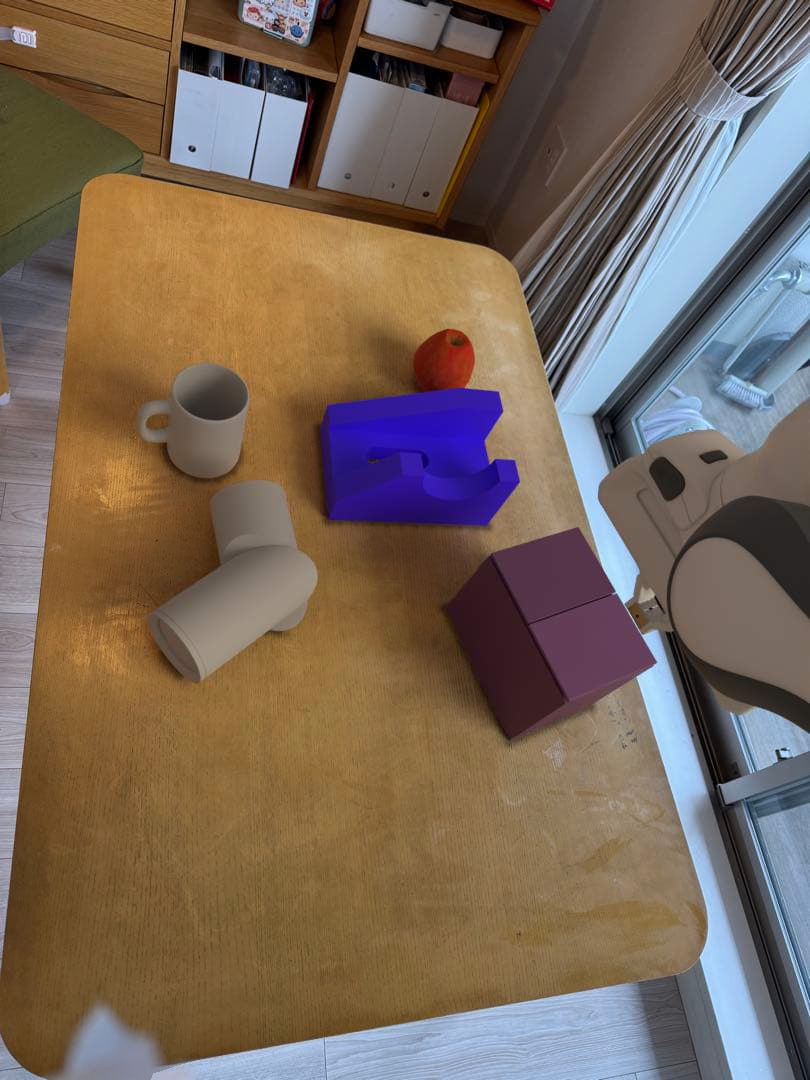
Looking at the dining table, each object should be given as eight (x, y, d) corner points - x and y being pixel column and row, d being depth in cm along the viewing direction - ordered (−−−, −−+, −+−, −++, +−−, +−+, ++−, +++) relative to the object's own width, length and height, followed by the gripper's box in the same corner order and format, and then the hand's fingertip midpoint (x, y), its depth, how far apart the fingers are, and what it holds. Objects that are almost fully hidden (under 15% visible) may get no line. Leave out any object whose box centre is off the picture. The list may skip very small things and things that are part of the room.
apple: (394, 385, 108) (417, 331, 99) (424, 355, 112) (449, 301, 103) (441, 420, 107) (469, 368, 98) (470, 388, 112) (499, 336, 103)
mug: (231, 419, 97) (242, 360, 88) (246, 476, 93) (258, 420, 84) (131, 425, 92) (131, 363, 83) (142, 485, 88) (143, 427, 79)
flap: (655, 664, 80) (657, 662, 80) (567, 701, 75) (569, 700, 75) (615, 594, 83) (617, 592, 83) (527, 626, 78) (529, 624, 78)
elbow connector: (335, 667, 83) (298, 509, 92) (335, 634, 74) (294, 460, 82) (167, 706, 80) (145, 538, 88) (145, 676, 71) (122, 491, 79)
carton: (590, 705, 92) (658, 663, 80) (509, 740, 87) (569, 701, 75) (524, 582, 98) (578, 525, 86) (444, 608, 92) (490, 552, 81)
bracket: (469, 440, 107) (498, 391, 98) (486, 525, 100) (520, 482, 92) (319, 428, 100) (337, 375, 91) (328, 519, 94) (348, 471, 85)
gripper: (873, 660, 50) (735, 721, 61) (701, 411, 57) (606, 507, 68) (812, 691, 47) (679, 750, 58) (639, 425, 54) (550, 524, 66)
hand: (638, 617), depth 64 cm, fingers closed
